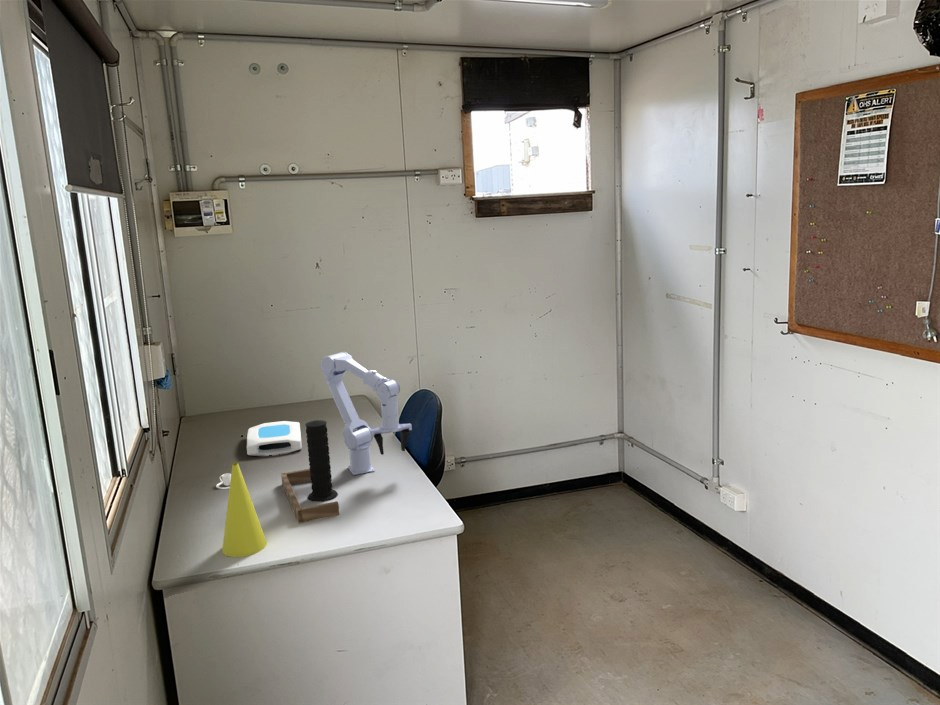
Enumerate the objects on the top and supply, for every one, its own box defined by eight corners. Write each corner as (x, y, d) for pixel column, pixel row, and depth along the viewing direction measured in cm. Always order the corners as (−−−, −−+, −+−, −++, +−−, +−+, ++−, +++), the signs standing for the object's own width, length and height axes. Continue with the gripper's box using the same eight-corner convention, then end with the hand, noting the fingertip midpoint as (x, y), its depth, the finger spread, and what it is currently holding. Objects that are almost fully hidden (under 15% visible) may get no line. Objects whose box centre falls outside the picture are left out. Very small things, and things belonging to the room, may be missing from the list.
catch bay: (282, 484, 252) (281, 473, 252) (318, 477, 257) (317, 467, 256) (298, 523, 219) (296, 510, 219) (339, 514, 224) (338, 502, 223)
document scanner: (300, 432, 313) (299, 418, 312) (302, 452, 287) (301, 437, 285) (250, 438, 308) (248, 424, 307) (247, 459, 282) (246, 443, 280)
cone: (271, 535, 211) (262, 455, 207) (260, 555, 199) (251, 470, 195) (229, 538, 211) (219, 457, 206) (216, 558, 199) (205, 473, 194)
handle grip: (306, 492, 243) (308, 504, 234) (299, 418, 238) (300, 426, 228) (336, 488, 246) (339, 499, 236) (329, 414, 240) (332, 422, 231)
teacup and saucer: (246, 483, 256) (244, 473, 255) (228, 491, 249) (226, 480, 248) (229, 480, 260) (227, 469, 259) (211, 487, 253) (210, 476, 253)
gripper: (372, 420, 243) (375, 458, 246) (413, 414, 248) (415, 452, 251) (367, 415, 250) (370, 452, 252) (407, 409, 255) (410, 446, 257)
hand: (392, 452), depth 252 cm, fingers open, 7 cm apart
